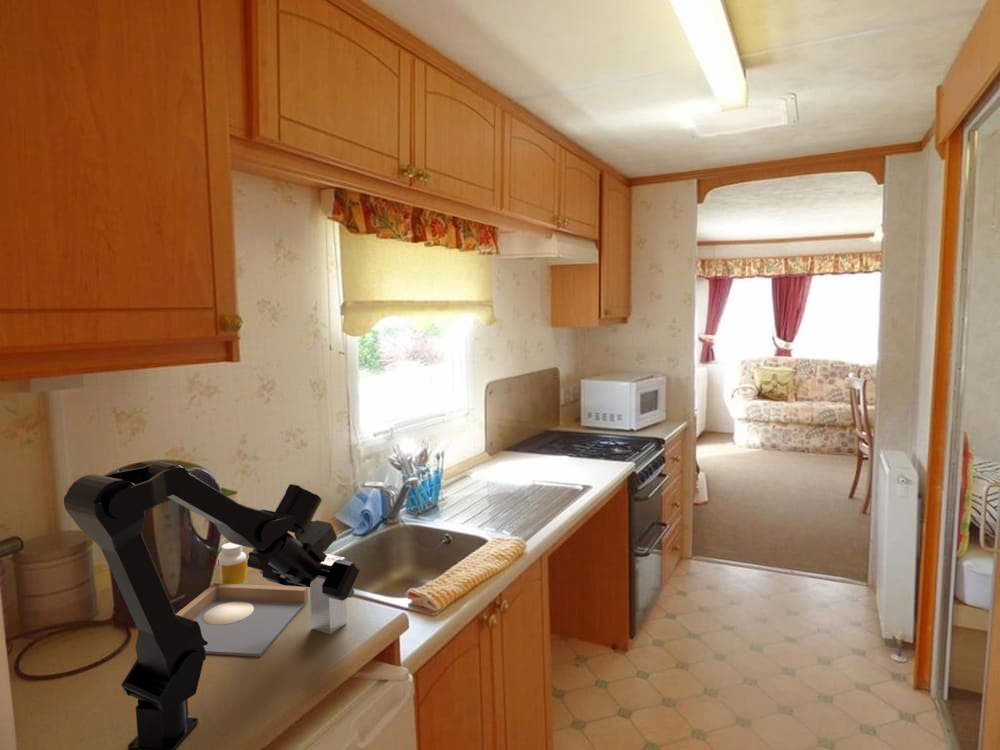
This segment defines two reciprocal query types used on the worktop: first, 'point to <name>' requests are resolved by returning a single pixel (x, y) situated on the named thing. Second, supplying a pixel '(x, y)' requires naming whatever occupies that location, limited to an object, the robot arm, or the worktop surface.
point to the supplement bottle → (233, 565)
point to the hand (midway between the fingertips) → (333, 589)
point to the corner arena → (244, 616)
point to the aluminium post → (326, 604)
